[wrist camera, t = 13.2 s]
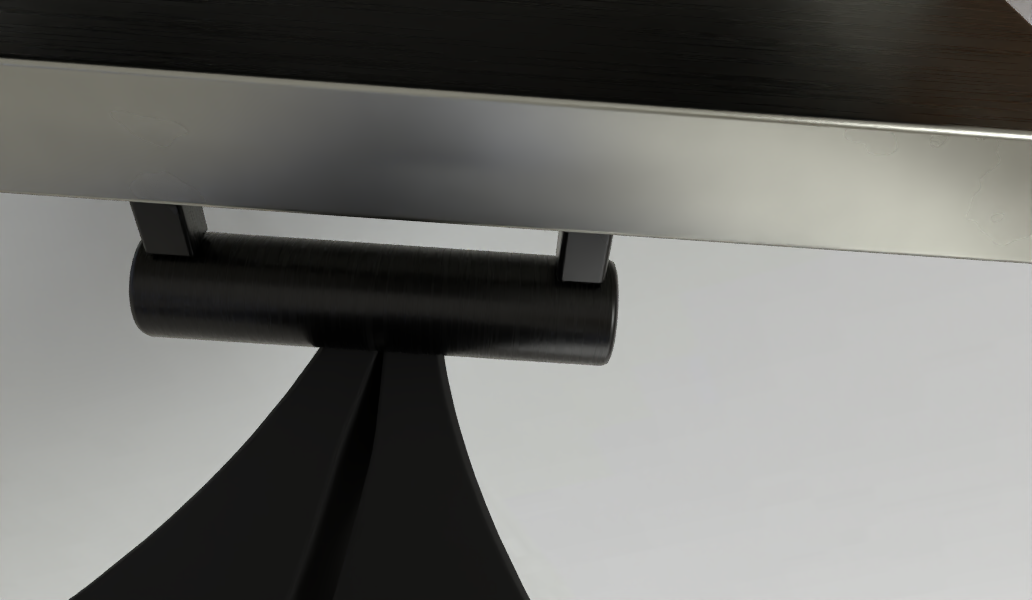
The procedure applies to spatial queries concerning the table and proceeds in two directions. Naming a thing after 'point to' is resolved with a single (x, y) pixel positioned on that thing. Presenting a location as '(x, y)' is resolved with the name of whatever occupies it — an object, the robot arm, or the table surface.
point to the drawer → (510, 148)
